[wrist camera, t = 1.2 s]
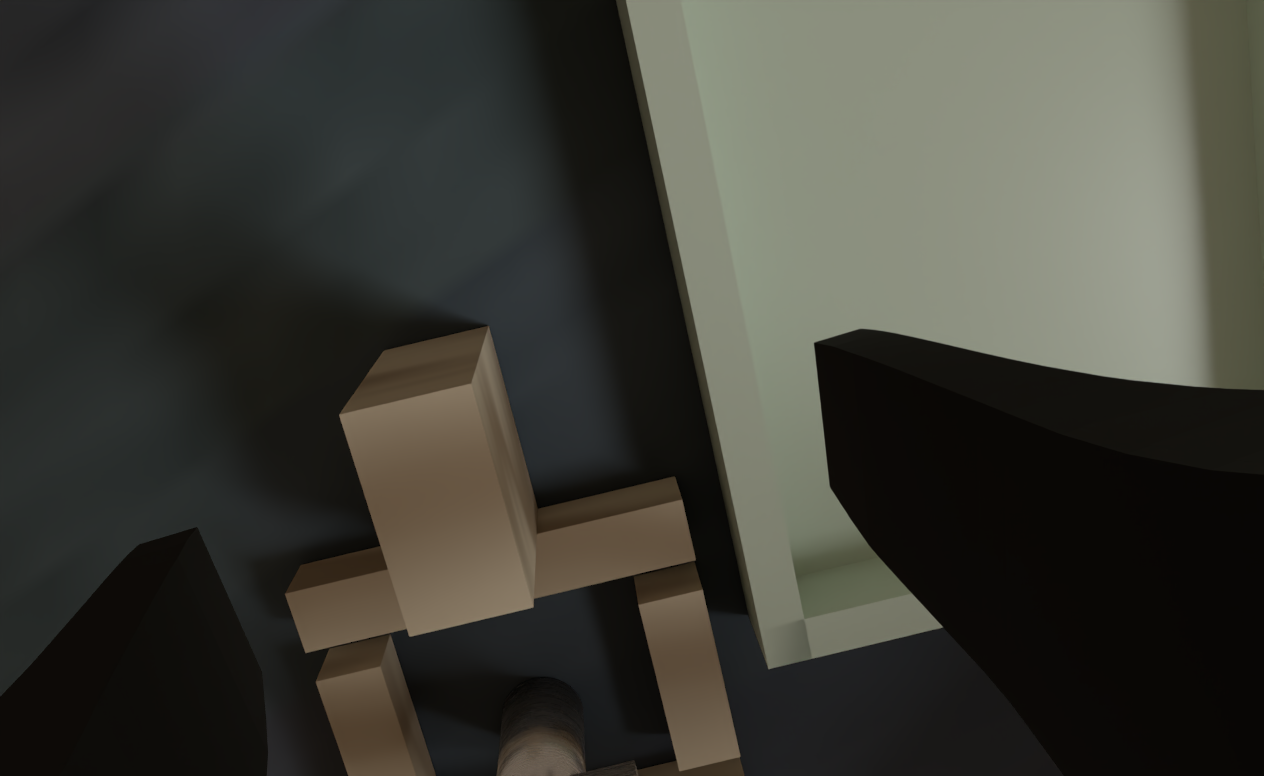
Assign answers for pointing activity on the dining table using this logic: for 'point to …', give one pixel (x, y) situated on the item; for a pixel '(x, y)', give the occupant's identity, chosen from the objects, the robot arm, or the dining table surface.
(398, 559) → the tan joined block frame
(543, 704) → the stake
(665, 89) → the tray
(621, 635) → the dining table surface
